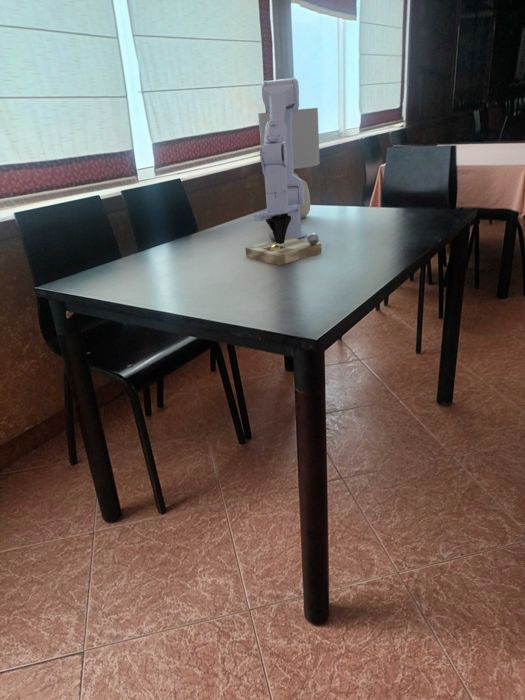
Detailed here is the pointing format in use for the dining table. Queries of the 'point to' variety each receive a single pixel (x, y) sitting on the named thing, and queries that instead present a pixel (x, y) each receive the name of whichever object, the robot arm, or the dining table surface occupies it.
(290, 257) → the plate
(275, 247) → the ball
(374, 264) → the dining table surface
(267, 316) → the dining table surface
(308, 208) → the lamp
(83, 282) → the dining table surface
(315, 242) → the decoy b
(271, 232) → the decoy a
